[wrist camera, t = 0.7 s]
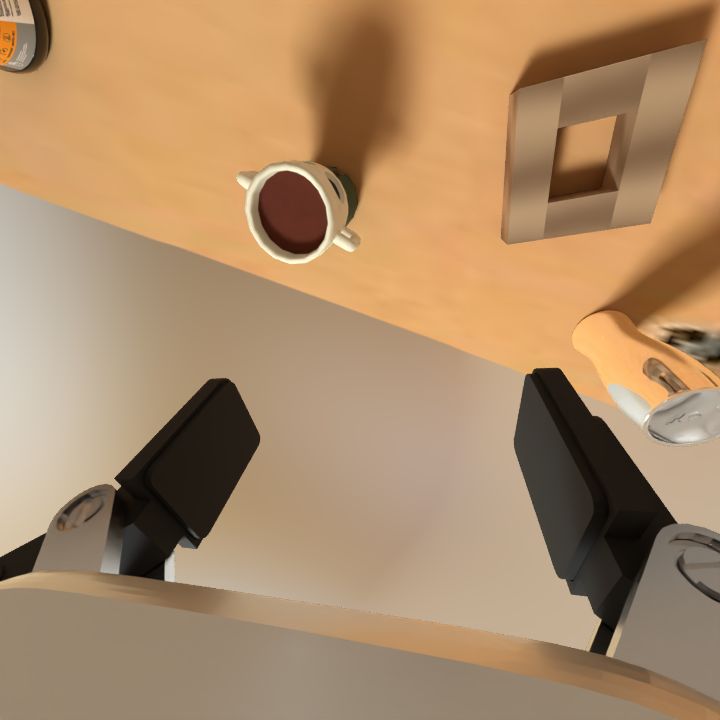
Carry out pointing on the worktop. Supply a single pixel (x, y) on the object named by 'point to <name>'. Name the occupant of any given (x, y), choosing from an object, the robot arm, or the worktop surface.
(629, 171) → the square ring frame
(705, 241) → the worktop surface
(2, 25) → the supplement container
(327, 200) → the character mug
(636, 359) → the beer glass
